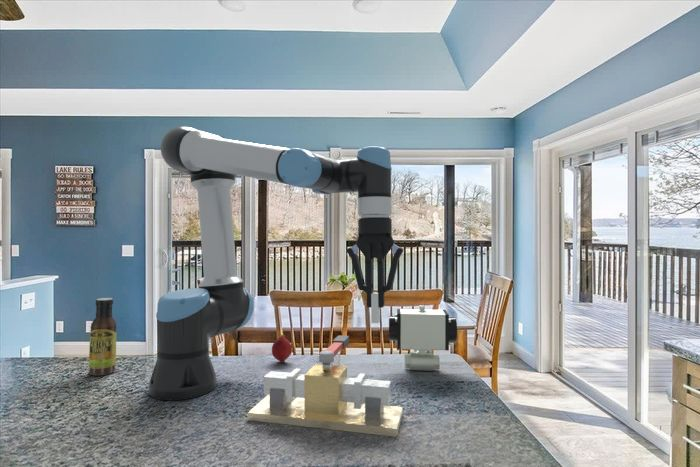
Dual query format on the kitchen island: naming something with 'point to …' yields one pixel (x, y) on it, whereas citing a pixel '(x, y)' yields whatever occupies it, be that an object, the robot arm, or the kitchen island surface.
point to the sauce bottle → (103, 339)
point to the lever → (333, 349)
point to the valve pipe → (328, 401)
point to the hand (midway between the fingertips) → (375, 321)
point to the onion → (281, 349)
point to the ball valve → (422, 335)
